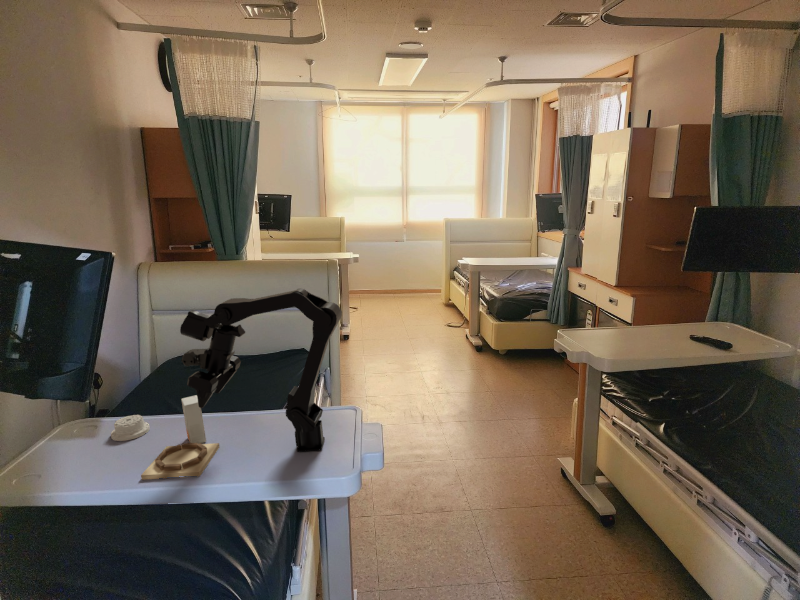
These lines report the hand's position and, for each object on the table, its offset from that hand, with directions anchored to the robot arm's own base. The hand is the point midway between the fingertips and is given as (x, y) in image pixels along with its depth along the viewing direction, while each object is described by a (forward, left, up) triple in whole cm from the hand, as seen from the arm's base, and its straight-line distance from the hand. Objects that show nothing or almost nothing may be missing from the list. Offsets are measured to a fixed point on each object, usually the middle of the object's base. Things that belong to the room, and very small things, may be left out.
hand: (209, 400), depth 131 cm
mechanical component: (+29, -11, -14) cm, 34 cm away
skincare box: (+7, -4, -14) cm, 16 cm away
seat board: (+6, +8, -13) cm, 16 cm away
